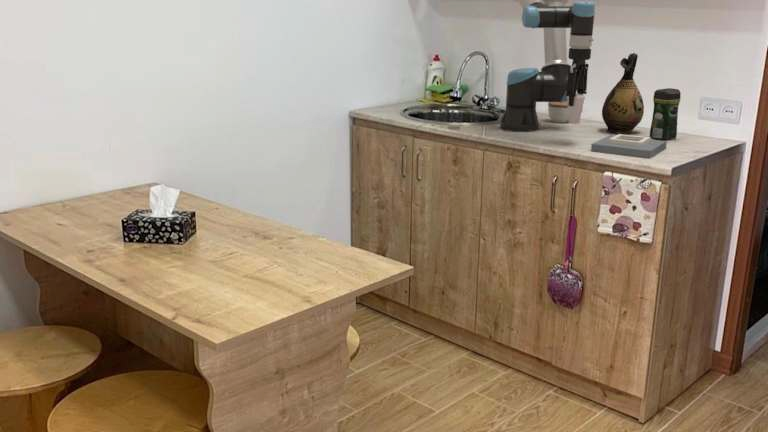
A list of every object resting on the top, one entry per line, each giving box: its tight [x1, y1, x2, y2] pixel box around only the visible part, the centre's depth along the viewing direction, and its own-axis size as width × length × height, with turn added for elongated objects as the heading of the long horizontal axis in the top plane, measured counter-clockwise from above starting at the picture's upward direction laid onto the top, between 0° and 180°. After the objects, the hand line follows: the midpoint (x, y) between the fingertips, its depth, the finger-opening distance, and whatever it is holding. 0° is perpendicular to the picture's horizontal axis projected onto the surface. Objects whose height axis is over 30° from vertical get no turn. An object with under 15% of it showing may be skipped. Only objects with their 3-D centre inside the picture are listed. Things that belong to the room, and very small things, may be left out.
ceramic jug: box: [601, 52, 645, 135], centre depth 297 cm, size 17×15×30 cm
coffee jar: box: [649, 87, 682, 141], centre depth 285 cm, size 10×8×19 cm
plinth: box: [590, 133, 668, 159], centre depth 267 cm, size 20×20×4 cm
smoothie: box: [567, 93, 586, 125], centre depth 274 cm, size 6×6×14 cm
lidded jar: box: [547, 102, 569, 124], centre depth 320 cm, size 11×11×9 cm
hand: (574, 113), depth 275 cm, fingers closed on smoothie, 6 cm apart
